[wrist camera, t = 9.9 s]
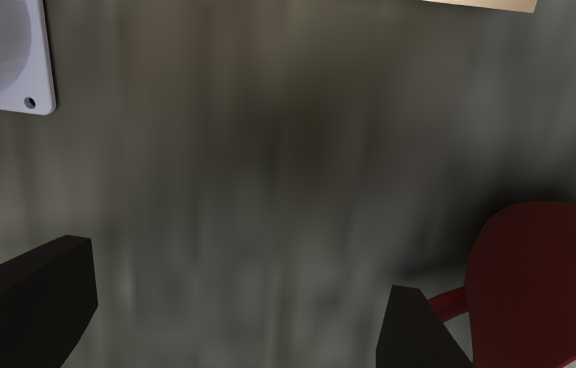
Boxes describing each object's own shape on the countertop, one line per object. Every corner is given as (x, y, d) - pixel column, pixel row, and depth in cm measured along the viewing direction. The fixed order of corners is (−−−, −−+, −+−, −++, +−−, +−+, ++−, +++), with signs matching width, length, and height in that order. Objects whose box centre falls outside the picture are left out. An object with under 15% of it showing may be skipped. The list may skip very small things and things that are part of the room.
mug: (432, 345, 24) (490, 566, 15) (357, 235, 22) (371, 421, 13) (642, 264, 21) (877, 486, 12) (580, 123, 18) (817, 268, 9)
